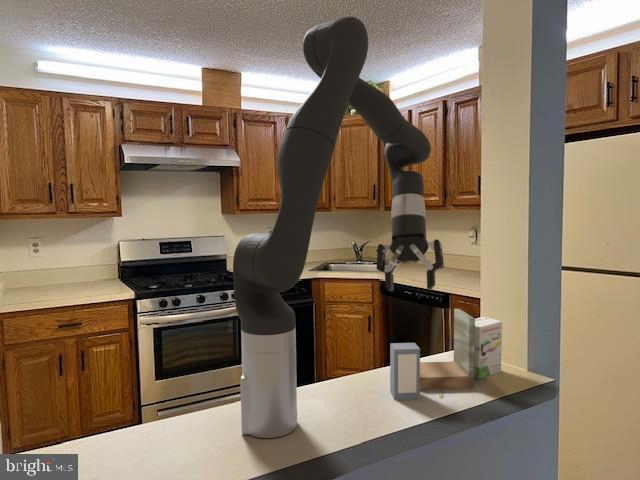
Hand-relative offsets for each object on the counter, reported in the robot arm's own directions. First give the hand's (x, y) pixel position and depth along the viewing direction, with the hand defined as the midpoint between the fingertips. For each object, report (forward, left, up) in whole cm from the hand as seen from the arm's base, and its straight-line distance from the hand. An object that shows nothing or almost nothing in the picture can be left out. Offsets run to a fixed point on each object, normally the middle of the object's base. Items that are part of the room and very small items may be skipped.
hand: (410, 289), depth 100 cm
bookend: (+6, -2, -20) cm, 20 cm away
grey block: (-3, -9, -20) cm, 22 cm away
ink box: (+17, +2, -20) cm, 26 cm away
